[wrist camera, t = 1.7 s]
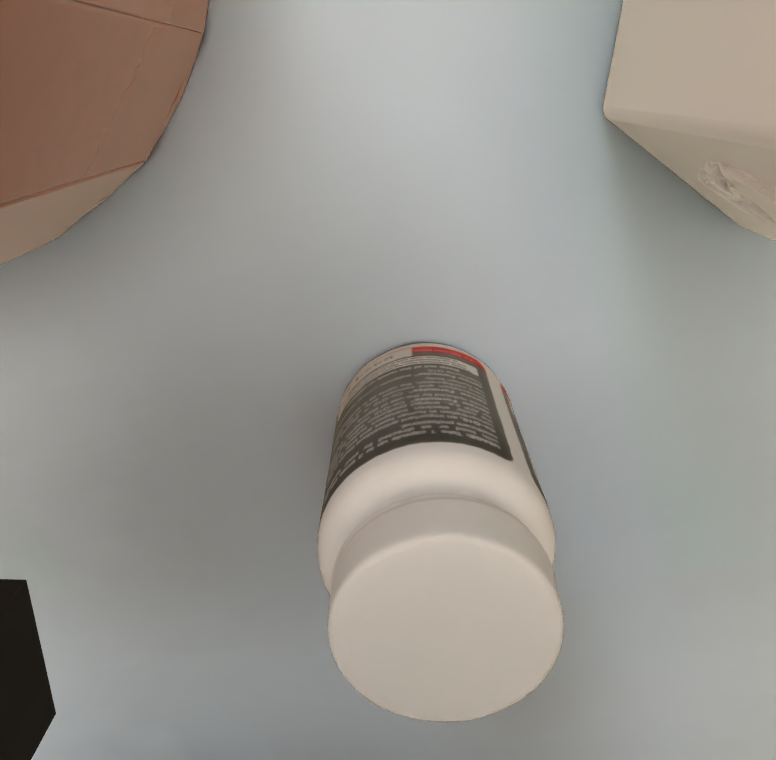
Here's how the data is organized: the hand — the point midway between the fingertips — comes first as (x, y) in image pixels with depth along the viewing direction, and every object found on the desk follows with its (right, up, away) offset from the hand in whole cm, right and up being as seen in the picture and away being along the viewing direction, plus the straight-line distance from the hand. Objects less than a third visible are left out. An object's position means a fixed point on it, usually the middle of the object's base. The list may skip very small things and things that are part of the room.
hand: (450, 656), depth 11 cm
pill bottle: (0, +3, +9) cm, 9 cm away
